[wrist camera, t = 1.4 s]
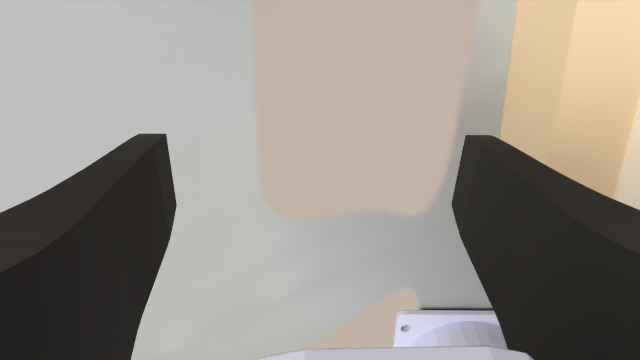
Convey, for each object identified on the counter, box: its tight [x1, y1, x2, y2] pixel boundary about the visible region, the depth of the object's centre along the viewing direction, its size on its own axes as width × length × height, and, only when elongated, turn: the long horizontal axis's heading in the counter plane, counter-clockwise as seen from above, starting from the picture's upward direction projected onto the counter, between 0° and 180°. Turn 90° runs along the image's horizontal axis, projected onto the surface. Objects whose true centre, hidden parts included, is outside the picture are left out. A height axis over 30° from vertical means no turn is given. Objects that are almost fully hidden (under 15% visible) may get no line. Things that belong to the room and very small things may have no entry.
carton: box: [500, 0, 640, 210], centre depth 19 cm, size 9×7×5 cm
